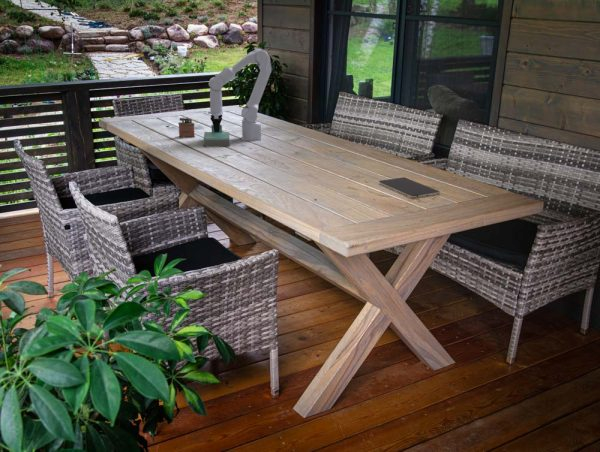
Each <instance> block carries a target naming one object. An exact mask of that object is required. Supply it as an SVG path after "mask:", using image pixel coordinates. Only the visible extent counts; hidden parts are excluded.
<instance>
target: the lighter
mask: <svg viewBox="0 0 600 452" xmlns="http://www.w3.org/2000/svg"><path fill="white" fill-rule="evenodd" d="M179 121H180V122H178V134H179V135H178V137H179V138H186V139H187V138H188V139H189V138H190V139H192V138H193V139H194V138H196V136H195V134H196V133H195V122H193V119H192V118H189V117H186V118H185V117H180V118H179Z"/></svg>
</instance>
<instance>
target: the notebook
mask: <svg viewBox="0 0 600 452" xmlns="http://www.w3.org/2000/svg"><path fill="white" fill-rule="evenodd" d="M378 183H379V185H381V186H383V185H384V186H383V187H385V186H386V187H385V188H388V187H389V188H388V189H390V188H391V189H390V190H392V189H393V190H392V191H394V190H395V192H397V191H398V192H397V193H399V192H400V194H401V193H402V195H404V194H405V195H404V196H406V195H407V196H406V197H408V196H410V197H418V198H420V197H419V196H423V197H427V196H426V195H429V196H432V195H431V194H435V195H438V194H437V193H439V194H440V191H439V190H437V189H434V188H431V187H429V186H427V185H424V184H422V183H419V182H417V181H415V180H412V179H410V178H407V177H404V176H403V177H396V178H390V179H383V180H379V181H378ZM410 197H409V198H410Z"/></svg>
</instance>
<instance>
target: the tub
mask: <svg viewBox="0 0 600 452" xmlns="http://www.w3.org/2000/svg"><path fill="white" fill-rule="evenodd" d="M203 147H230V139H229V140H204V139H203Z"/></svg>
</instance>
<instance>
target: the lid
mask: <svg viewBox="0 0 600 452" xmlns="http://www.w3.org/2000/svg"><path fill="white" fill-rule="evenodd" d="M204 140H229V141H230V132H229V131H223V124H220V129H219V132H214V127H213V124H211V131H204V134H203V141H204Z"/></svg>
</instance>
